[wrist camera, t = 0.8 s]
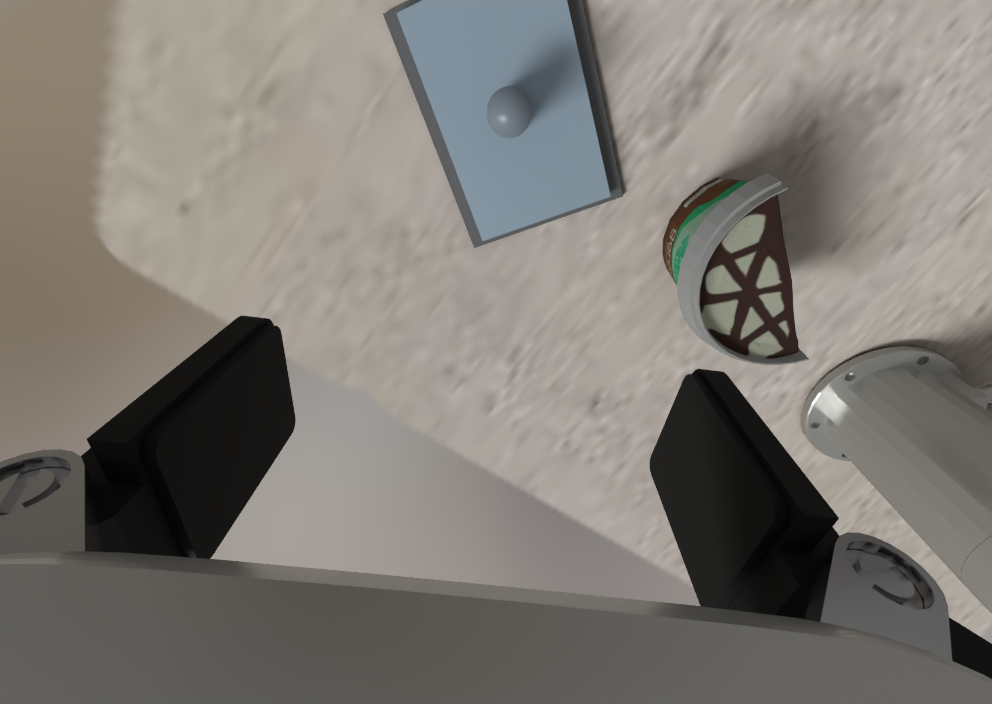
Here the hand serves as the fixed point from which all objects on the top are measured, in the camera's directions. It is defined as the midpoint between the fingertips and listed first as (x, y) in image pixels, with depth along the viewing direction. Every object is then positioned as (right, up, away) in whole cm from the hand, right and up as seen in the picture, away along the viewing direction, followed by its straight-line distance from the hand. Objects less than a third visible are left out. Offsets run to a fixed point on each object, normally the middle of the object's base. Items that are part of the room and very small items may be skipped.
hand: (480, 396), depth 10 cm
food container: (+16, +9, +24) cm, 30 cm away
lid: (+2, +18, +19) cm, 26 cm away
